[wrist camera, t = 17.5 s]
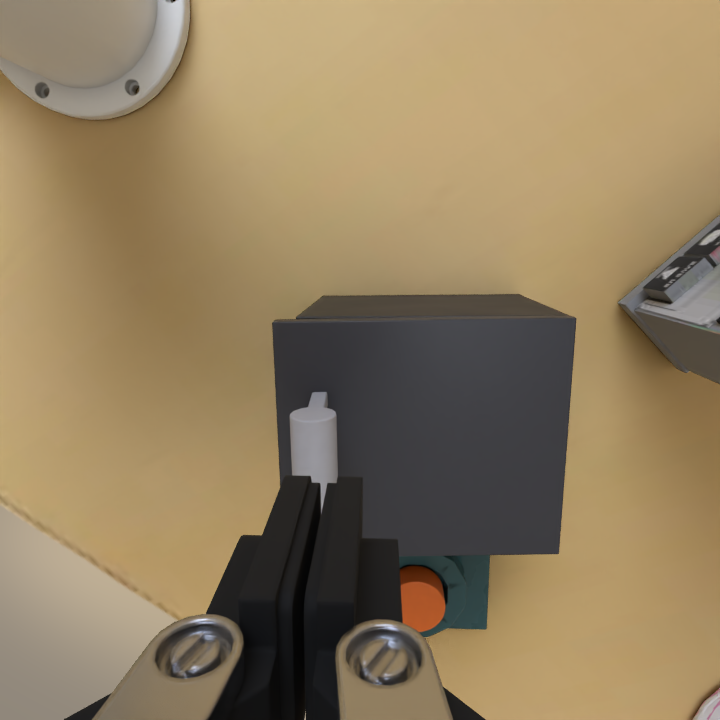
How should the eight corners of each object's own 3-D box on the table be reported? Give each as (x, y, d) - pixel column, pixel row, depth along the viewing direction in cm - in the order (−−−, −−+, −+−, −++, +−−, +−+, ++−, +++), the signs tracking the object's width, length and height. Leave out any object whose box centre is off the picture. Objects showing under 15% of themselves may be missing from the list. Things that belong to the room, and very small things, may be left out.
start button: (387, 612, 35) (387, 631, 34) (387, 564, 34) (387, 581, 33) (442, 614, 35) (444, 633, 33) (443, 565, 34) (446, 582, 33)
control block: (344, 604, 39) (339, 644, 36) (342, 505, 38) (336, 535, 34) (481, 608, 39) (491, 649, 35) (485, 507, 37) (496, 539, 33)
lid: (285, 549, 27) (268, 623, 22) (274, 319, 24) (252, 340, 19) (553, 545, 27) (600, 618, 22) (570, 315, 24) (627, 335, 19)
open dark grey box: (327, 462, 37) (304, 539, 28) (322, 295, 35) (295, 316, 25) (511, 465, 36) (553, 544, 27) (519, 294, 34) (570, 315, 24)
